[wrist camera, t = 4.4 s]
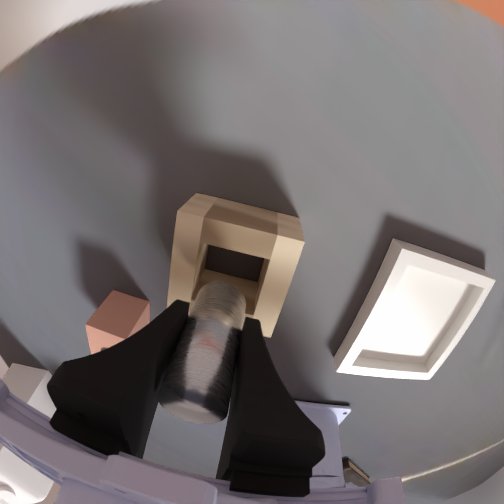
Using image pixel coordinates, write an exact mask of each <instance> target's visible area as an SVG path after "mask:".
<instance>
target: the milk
mask: <svg viewBox="0 0 504 504" xmlns="http://www.w3.org/2000/svg"><path fill="white" fill-rule="evenodd" d="M51 377H52V375H51V373H50V372H49V371H48V370H43V369H38V368H33V367H29V366H24V365H20V364H16V363H12V365H11V366H10V368H9V369H8V371H7V372H6V374H5V375H4V377H3V379H2V380H3V382H4V383H5V384H6V385H7V387H8V389H9V392H11V393H12V394H14V395H15V396H17V397H18V398H20V399H21V400H23V401H24V402H26V403H27V404H29V405H30V406H32V407H33V408H35V409H37V410H38V411H40V412H41V413H43V414H45V415H47V416H48V417H50V418H52V416H53V414H54V413H55V411H56V407H55V405H54V403H53V402H52V400H51V398H50V396H49V394H48V391H47V383H48V382H49V380H50V379H51ZM53 483H54V481H53V480H51V479H49V478H48V477H46V476H45V475H43V474H41V473H40V472H38V471H37V470H35V469H34V468H33V467H31V466H30V465H28V464H27V463H25V462H24V461H23V460H21V459H20V458H19V457H17V456H16V455H15V454H13V453H12V452H11V451H9V450H8V449H7V448H6V447H4V446H3V445H2V444H1V443H0V504H33V503H37V502H40V501H42V500H44V499H45V498H46V496H47V495H48V493H49V491H50V489H51V487H52V485H53Z"/></svg>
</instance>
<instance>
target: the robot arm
mask: <svg viewBox="0 0 504 504" xmlns="http://www.w3.org/2000/svg"><path fill="white" fill-rule="evenodd" d="M189 306H190V302H186V301H182V300H179V299H177V300H175V301H174V302H173V303H172V304H171V305H170V306H169V307H168V308H167V309H165V310H164V311H163V312H162V313H161V314H160V315H159V316H157V317H156V318H155V319H154V320H152V321H151V322H150V323H149V324H147V325H146V326H144V327H143V328H142V329H140V330H139V331H137V332H136V333H134V334H133V335H131V336H130V337H128V338H126V339H125V340H123V341H121V342H119V343H117V344H115V345H113V346H111V347H109V348H107V349H105V350H102V351H100V352H97V353H94V354H91V355H89V356H85V357H82V358H78V359H74V360H70V361H65V362H63V363H62V364H61V365H60V367H59V368H58V369H57V370H56V371H55V373H54V374H53V376H52V377H51V379H50V380H49V382H48V383H47V391H48V394H49V396H50V398H51V400H52V402H53V403H54V405H55V407H56V411H55V413H54V414H53V416H52V418H50V417H48V416H47V415H45V414H43V413H41V412H40V411H38V410H37V409H35V408H33V407H32V406H30V405H29V404H27V403H26V402H24V401H23V400H21V399H20V398H18V397H17V396H15V395H14V394H12V393H11V392H9V389H8V387H7V385H6V384H5V383H4V382H3V380H1V379H0V443H1V444H2V445H3V446H4V447H6V448H7V449H8V450H9V451H11V452H12V453H13V454H15V455H16V456H17V457H19V458H20V459H21V460H23V461H24V462H25V463H27V464H28V465H30V466H31V467H33V468H34V469H35V470H37V471H38V472H40V473H41V474H43V475H45V476H46V477H48V478H49V479H51V480H53V481H54V482H56V483H58V484H59V485H61V488H60V490H59V492H58V494H57V497H56V500H55V502H54V504H406V503H405V497H404V491H403V486H402V480H401V477H395V478H387V479H380V480H376V481H374V482H372V483H370V484H369V485H368V486H364V487H357V486H356V485H355V484H353V483H352V482H348V483H346V484H345V480H344V477H343V465H342V455H341V446H340V437H339V428H338V425H339V424H340V423H341V422H342V420H343V419H344V418H345V417H346V416H347V415H348V414H349V413H350V411H351V407H350V406H340V405H329V404H319V403H310V402H302V401H295V400H294V399H293V398H292V397H291V395H290V394H289V392H288V391H287V389H286V388H285V386H284V384H283V382H282V381H281V379H280V377H279V375H278V373H277V371H276V369H275V367H274V364H273V362H272V360H271V357H270V355H269V352H268V349H267V346H266V343H265V340H264V336H263V333H262V328H261V322H260V321H259V320H258V319H254V318H250V317H246V318H245V321H244V325H243V328H242V332H241V338H240V344H239V350H238V356H237V362H236V368H235V374H234V379H233V385H232V391H231V399H230V409H229V415H228V421H227V426H226V431H225V436H224V441H223V446H222V451H221V456H220V461H219V465H218V470H217V475H216V479H214V478H209V477H205V476H200V475H196V474H191V473H187V472H183V471H180V470H176V469H172V468H169V467H165V466H162V465H159V464H155V463H152V462H149V461H146V460H143V459H142V458H143V454H144V450H145V446H146V442H147V439H148V435H149V431H150V428H151V424H152V421H153V418H154V414H155V411H156V408H157V405H158V402H159V401H158V398H157V395H158V392H159V389H160V386H161V384H162V381H163V379H164V376H165V373H166V371H167V368H168V366H169V363H170V361H171V358H172V356H173V353H174V351H175V348H176V346H177V343H178V341H179V338H180V336H181V333H182V331H183V328H184V326H185V323H186V321H187V318H188V313H189Z"/></svg>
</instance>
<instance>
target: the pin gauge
mask: <svg viewBox="0 0 504 504" xmlns="http://www.w3.org/2000/svg"><path fill="white" fill-rule="evenodd" d="M245 309H246V300H245V297H244V295H243V293H242V292H241V291H240V290H239V289H238V288H237V287H235V286H234V285H232V284H229V283H226V282H221V281H215V282H210V283H208V284H206V285H204V286H203V287H202V288H201V289H200V290H199V292H198V294H197V297H196V299H195V302H194V304H193V306H192V309H191V311H190V314H189V316H188V318H187V321H186V323H185V326H184V328H183V331H182V333H181V336H180V338H179V341H178V343H177V346H176V348H175V351H174V353H173V356H172V358H171V361H170V363H169V366H168V368H167V371H166V373H165V376H164V379H163V381H162V384H161V386H160V389H159V392H158V395H157V398H158V401H159V403H160V404H161V406H162V407H163V408H164V409H165V410H166V411H168V412H169V413H171V414H172V415H174V416H176V417H178V418H180V419H183V420H186V421H189V422H193V423H199V424H212V423H217V422H220V421H222V420H224V419H225V418H226V417H227V414H228V408H229V403H230V397H231V391H232V385H233V379H234V374H235V368H236V362H237V356H238V350H239V344H240V338H241V332H242V327H243V321H244V315H245Z"/></svg>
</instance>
